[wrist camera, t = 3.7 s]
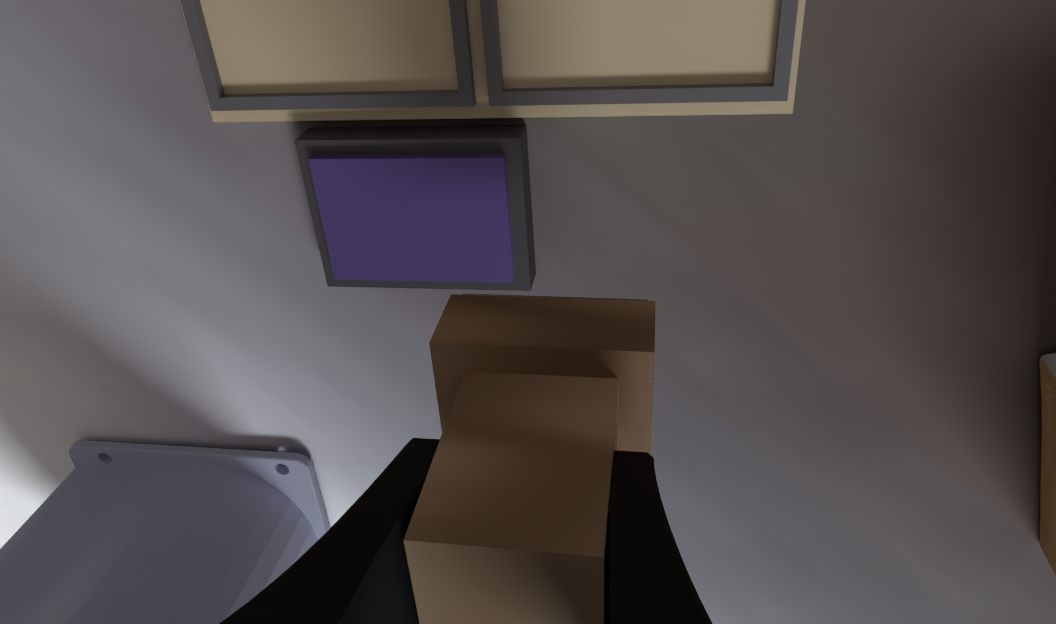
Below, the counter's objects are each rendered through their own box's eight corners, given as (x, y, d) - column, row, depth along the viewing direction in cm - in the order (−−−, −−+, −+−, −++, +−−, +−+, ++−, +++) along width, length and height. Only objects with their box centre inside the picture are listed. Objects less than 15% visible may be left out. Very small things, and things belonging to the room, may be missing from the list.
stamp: (472, 438, 18) (395, 681, 13) (454, 287, 16) (355, 506, 11) (648, 449, 17) (642, 708, 12) (655, 293, 15) (651, 529, 10)
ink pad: (339, 270, 24) (323, 291, 22) (309, 128, 21) (290, 144, 20) (535, 273, 23) (529, 296, 21) (526, 125, 20) (517, 142, 19)
